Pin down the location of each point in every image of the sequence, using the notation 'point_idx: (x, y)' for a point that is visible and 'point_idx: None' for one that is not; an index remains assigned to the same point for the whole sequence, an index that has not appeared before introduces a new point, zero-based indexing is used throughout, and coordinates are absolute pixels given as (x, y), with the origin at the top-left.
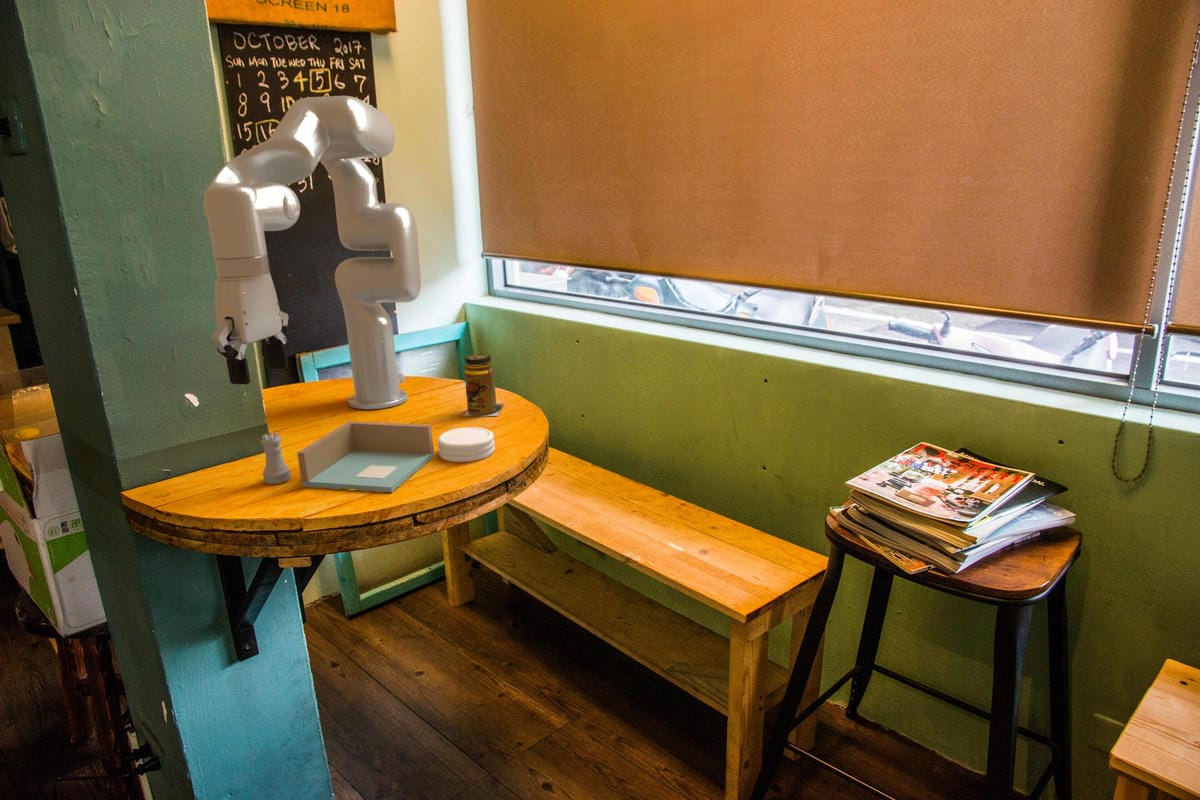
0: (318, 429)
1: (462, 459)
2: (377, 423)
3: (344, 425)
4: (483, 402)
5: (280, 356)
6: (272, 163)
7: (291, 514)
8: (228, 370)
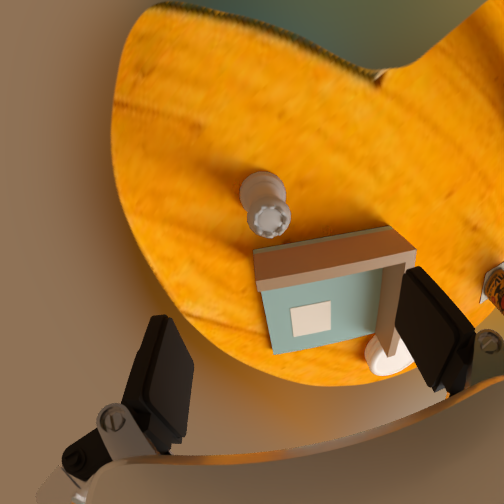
0: (455, 107)
1: (365, 357)
2: None
3: (397, 257)
4: (492, 300)
5: (415, 348)
6: None
7: (179, 296)
8: (139, 353)
